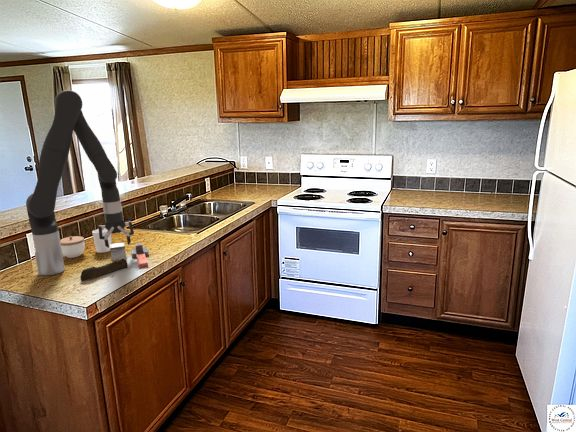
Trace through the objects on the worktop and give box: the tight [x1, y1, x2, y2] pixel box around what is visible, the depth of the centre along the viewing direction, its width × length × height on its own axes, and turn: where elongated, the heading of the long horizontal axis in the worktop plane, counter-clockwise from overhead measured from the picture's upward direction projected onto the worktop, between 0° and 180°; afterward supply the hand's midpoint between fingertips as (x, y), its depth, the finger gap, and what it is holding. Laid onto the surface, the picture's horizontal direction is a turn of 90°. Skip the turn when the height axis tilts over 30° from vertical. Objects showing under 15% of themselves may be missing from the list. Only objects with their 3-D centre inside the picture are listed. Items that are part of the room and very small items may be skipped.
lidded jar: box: [60, 235, 86, 259], centre depth 184 cm, size 11×11×9 cm
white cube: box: [110, 241, 127, 262], centre depth 181 cm, size 6×6×6 cm
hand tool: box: [80, 259, 129, 282], centre depth 163 cm, size 19×4×5 cm, turn 139°
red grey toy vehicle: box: [130, 242, 149, 269], centre depth 178 cm, size 7×21×5 cm, turn 25°
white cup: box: [91, 228, 112, 254], centre depth 190 cm, size 8×8×10 cm
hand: (118, 245), depth 180 cm, fingers open, 8 cm apart
